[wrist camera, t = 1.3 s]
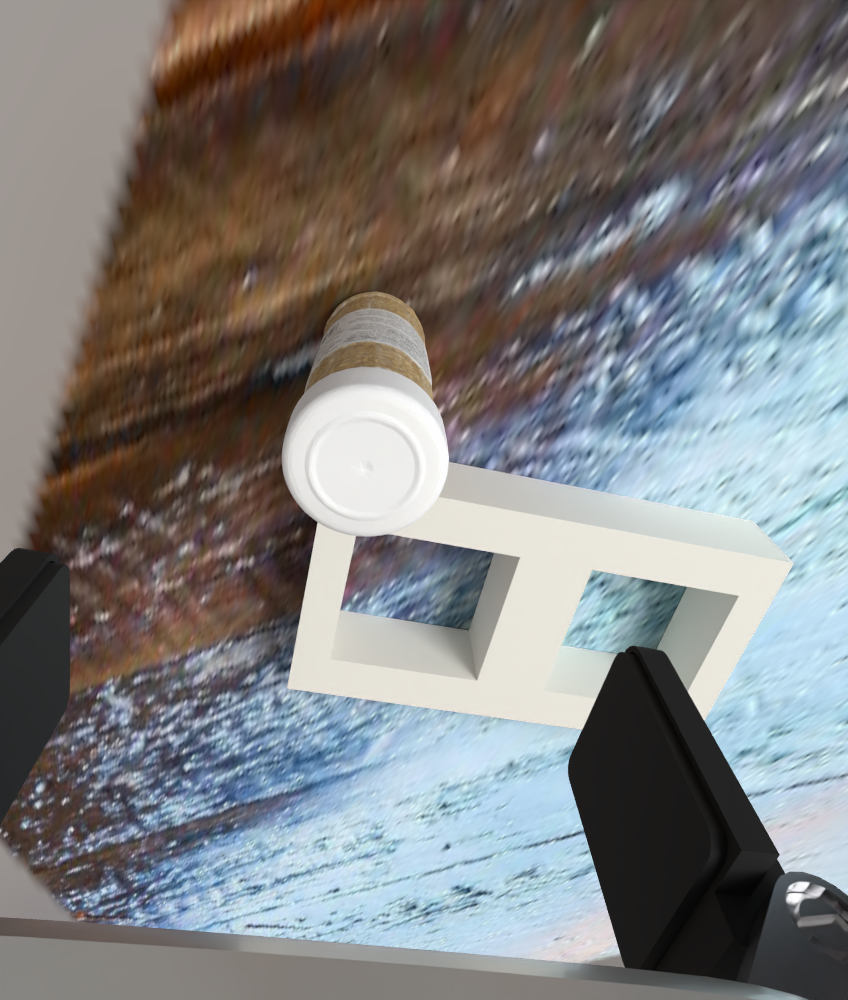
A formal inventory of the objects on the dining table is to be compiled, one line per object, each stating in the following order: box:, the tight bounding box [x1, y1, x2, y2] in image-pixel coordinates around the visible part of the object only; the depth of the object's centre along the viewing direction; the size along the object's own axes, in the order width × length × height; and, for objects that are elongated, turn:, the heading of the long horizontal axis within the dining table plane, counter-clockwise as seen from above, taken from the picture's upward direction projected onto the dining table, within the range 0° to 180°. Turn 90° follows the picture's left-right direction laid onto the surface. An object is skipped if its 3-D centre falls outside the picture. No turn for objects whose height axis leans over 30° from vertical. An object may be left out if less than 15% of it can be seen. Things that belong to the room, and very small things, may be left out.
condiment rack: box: [287, 462, 794, 729], centre depth 34 cm, size 12×22×4 cm, turn 77°
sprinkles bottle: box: [282, 291, 449, 536], centre depth 24 cm, size 5×5×13 cm
